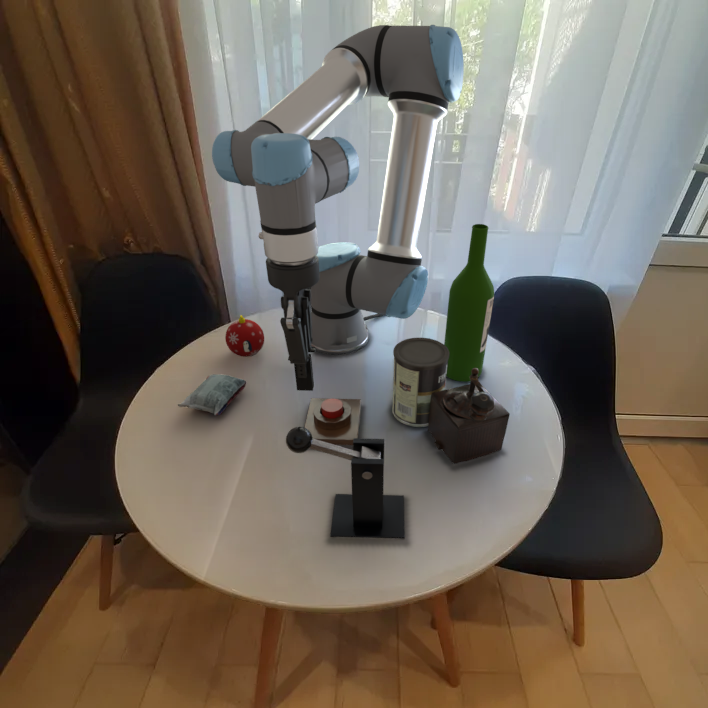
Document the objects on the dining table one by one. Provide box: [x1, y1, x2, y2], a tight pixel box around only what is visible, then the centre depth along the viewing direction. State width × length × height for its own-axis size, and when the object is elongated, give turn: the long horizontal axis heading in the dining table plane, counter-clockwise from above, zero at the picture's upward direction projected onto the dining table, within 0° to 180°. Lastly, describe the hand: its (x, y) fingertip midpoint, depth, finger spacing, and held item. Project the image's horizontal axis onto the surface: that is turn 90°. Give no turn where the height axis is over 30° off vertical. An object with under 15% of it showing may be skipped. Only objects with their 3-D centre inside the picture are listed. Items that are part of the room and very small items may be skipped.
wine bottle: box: [443, 223, 495, 383], centre depth 100 cm, size 9×9×32 cm
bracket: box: [329, 437, 406, 539], centre depth 71 cm, size 11×8×15 cm
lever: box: [285, 426, 381, 461], centre depth 67 cm, size 13×4×4 cm, turn 89°
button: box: [321, 398, 343, 419], centre depth 91 cm, size 4×4×2 cm
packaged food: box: [177, 373, 248, 416], centre depth 97 cm, size 9×12×5 cm
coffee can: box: [391, 337, 449, 428], centre depth 93 cm, size 10×10×14 cm
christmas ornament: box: [224, 314, 265, 358], centre depth 111 cm, size 9×9×10 cm
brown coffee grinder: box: [426, 368, 510, 465], centre depth 83 cm, size 16×11×18 cm
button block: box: [303, 397, 362, 446], centre depth 92 cm, size 12×10×4 cm
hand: (305, 387), depth 83 cm, fingers closed
